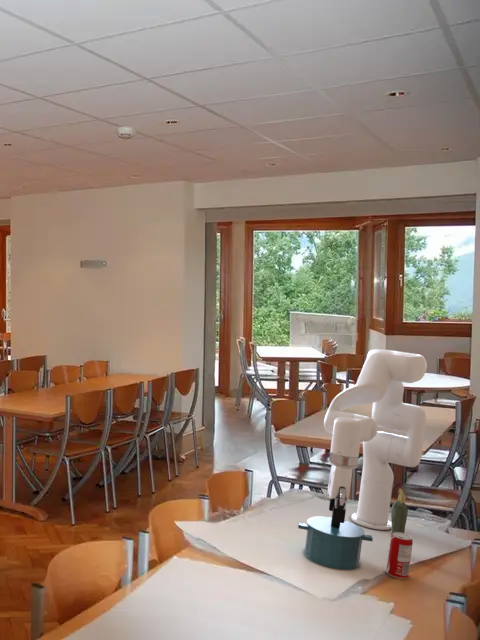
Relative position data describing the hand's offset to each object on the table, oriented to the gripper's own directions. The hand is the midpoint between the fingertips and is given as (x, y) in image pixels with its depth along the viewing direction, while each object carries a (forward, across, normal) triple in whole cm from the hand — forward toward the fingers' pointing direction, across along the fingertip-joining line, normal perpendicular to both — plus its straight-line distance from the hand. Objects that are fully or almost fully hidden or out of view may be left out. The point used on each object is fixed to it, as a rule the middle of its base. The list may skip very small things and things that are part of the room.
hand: (336, 516), depth 219 cm
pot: (+13, 0, 0) cm, 13 cm away
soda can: (+13, +3, +17) cm, 22 cm away
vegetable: (+13, -15, +19) cm, 28 cm away
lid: (+4, 0, 0) cm, 4 cm away
